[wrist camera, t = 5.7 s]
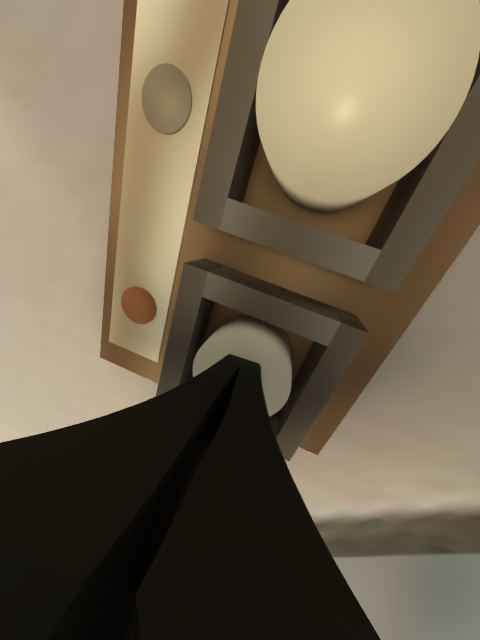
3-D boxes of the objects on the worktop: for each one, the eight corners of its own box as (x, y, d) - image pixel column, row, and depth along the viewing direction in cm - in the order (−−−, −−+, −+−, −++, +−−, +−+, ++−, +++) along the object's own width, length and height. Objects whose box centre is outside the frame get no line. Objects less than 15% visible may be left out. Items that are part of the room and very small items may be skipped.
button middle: (449, 66, 6) (546, -44, 3) (366, 228, 7) (396, 224, 5) (299, 29, 6) (300, -91, 4) (251, 190, 8) (233, 170, 5)
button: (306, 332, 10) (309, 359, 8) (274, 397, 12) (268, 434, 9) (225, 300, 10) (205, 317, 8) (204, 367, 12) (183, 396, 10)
